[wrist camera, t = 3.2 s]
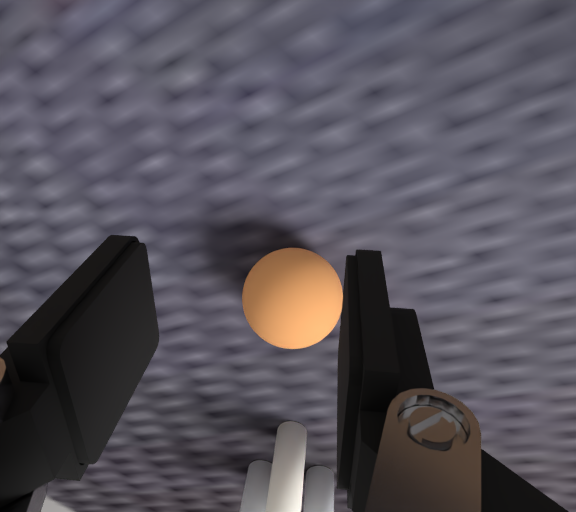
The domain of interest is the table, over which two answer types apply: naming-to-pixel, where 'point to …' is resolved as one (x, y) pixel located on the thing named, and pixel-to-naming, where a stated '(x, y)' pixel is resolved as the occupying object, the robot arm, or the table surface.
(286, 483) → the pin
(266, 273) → the ball
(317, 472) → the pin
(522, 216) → the table surface
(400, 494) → the robot arm
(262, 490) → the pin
